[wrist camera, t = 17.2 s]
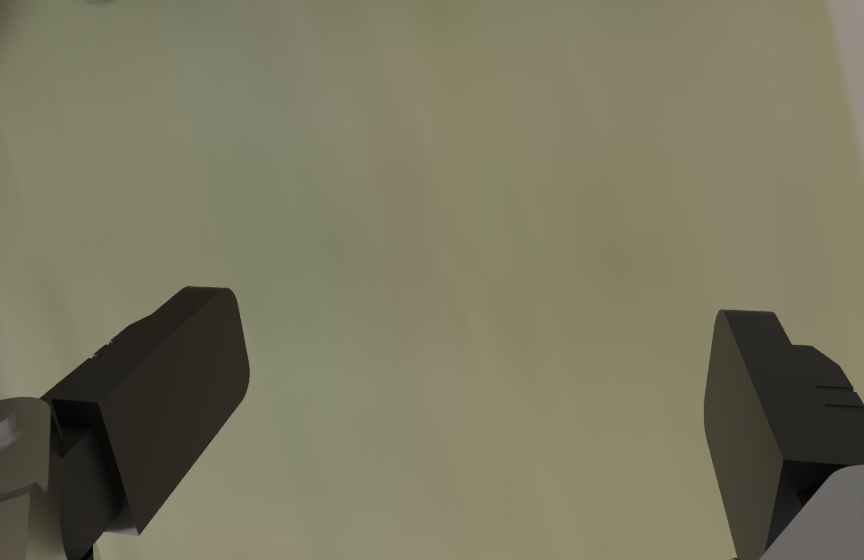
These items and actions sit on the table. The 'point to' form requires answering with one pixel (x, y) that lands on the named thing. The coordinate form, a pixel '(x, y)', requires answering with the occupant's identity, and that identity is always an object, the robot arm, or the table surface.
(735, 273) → the table surface
